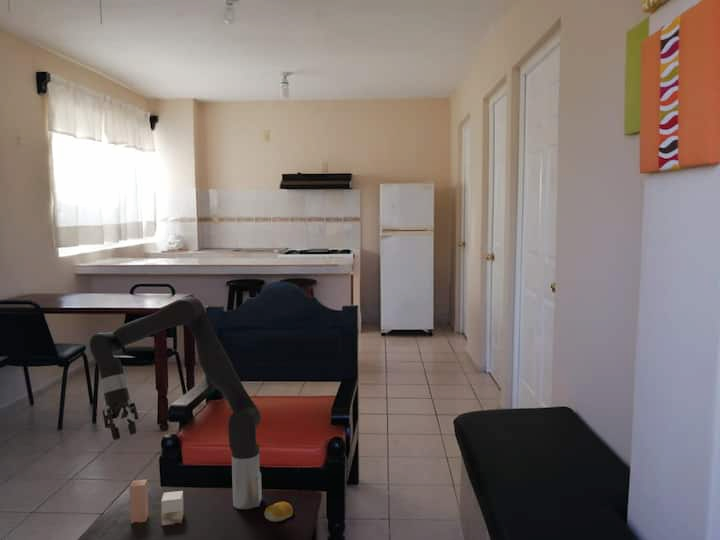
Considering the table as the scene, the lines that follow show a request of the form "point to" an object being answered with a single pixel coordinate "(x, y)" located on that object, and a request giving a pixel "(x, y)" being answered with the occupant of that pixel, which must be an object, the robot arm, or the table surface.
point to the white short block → (172, 502)
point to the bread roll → (278, 511)
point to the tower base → (172, 517)
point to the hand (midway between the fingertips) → (125, 436)
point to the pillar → (139, 501)
